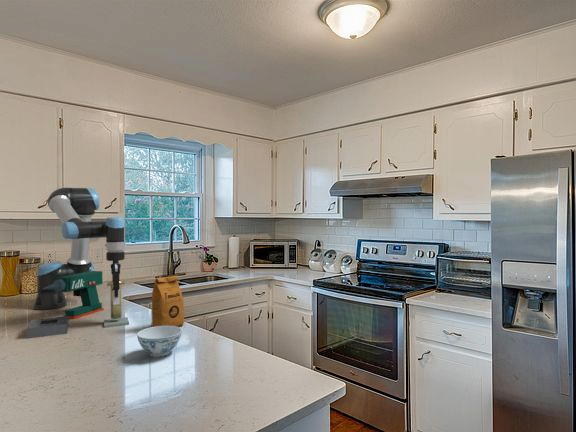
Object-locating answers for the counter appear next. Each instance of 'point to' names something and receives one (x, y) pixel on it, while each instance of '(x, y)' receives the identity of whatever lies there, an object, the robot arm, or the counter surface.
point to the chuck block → (48, 327)
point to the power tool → (80, 292)
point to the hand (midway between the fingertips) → (116, 303)
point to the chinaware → (159, 339)
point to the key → (116, 308)
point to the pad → (116, 322)
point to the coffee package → (167, 303)
